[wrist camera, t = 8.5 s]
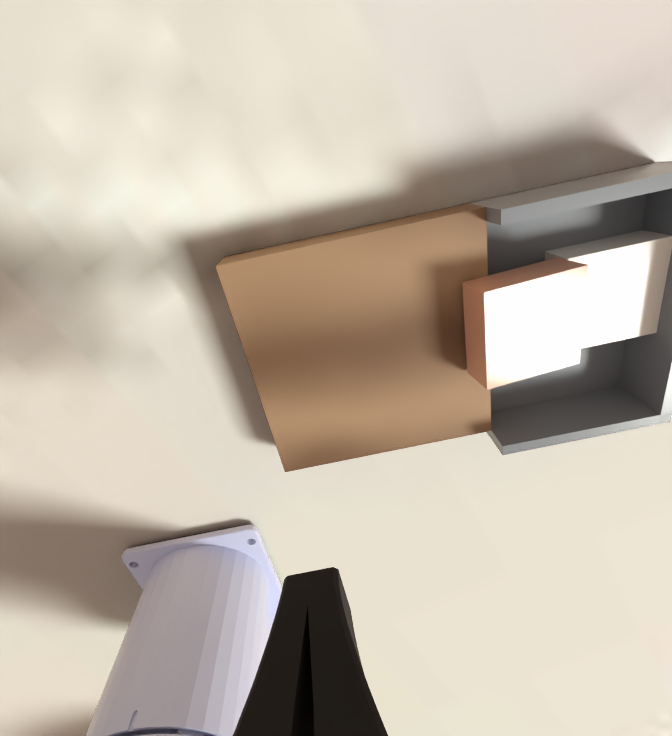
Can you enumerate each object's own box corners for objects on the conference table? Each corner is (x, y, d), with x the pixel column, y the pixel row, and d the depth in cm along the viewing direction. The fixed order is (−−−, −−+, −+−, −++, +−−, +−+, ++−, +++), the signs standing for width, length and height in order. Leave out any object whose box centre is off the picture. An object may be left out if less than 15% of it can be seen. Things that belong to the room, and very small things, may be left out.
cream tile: (628, 320, 18) (656, 332, 16) (541, 338, 18) (561, 352, 17) (641, 230, 16) (674, 235, 15) (545, 251, 16) (568, 258, 15)
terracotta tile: (552, 348, 17) (579, 363, 16) (467, 372, 17) (487, 390, 15) (557, 257, 15) (588, 264, 14) (461, 282, 15) (484, 292, 14)
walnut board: (476, 409, 20) (491, 430, 18) (286, 448, 20) (285, 472, 19) (467, 203, 16) (486, 206, 14) (224, 256, 16) (215, 266, 14)
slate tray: (621, 388, 20) (669, 421, 17) (477, 417, 20) (502, 455, 18) (656, 161, 15) (730, 159, 13) (467, 203, 16) (500, 210, 13)
